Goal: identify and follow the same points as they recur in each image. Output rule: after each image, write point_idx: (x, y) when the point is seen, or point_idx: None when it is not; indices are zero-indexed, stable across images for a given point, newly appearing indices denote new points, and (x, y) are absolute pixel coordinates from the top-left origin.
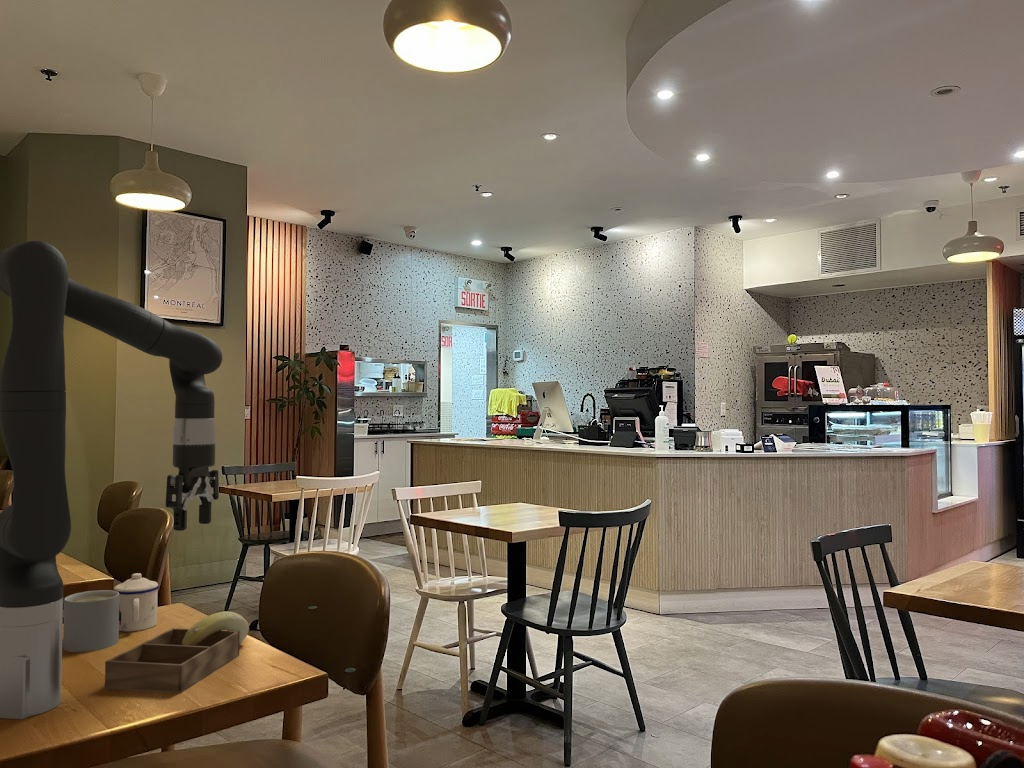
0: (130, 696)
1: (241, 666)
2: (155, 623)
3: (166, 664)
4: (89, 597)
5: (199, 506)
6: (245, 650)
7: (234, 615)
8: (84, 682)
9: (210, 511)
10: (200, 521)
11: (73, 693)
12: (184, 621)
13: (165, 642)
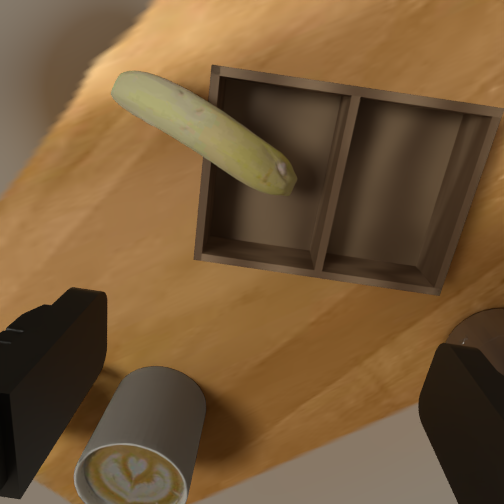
0: None
1: (287, 36)
2: None
3: (488, 151)
4: (105, 492)
5: (28, 478)
6: (167, 73)
7: (176, 92)
8: (367, 324)
9: (33, 339)
10: (100, 361)
11: (422, 315)
12: None
13: (236, 250)
